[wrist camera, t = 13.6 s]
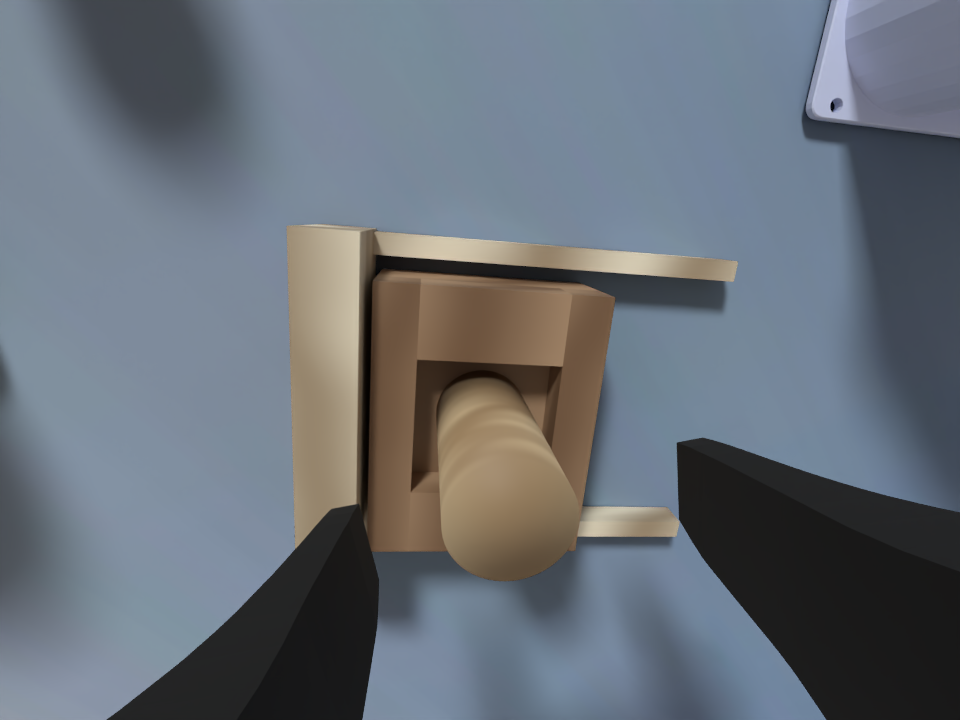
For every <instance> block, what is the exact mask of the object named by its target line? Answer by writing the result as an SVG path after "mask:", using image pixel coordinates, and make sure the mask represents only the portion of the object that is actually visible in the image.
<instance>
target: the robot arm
mask: <svg viewBox="0 0 960 720" xmlns="http://www.w3.org/2000/svg"><path fill="white" fill-rule="evenodd" d="M832 101H833V103H834V110H833V112H832V111H831V109H830V104H831V102H832ZM806 113H807V115H808V116H809V118H811V119H813V120H819V121H827V122H835V123H843V124H851V125H859V126H867V127H875V128H883V129H891V130H899V131H907V132H915V133H923V134H931V135H939V136H947V137H955V138H960V0H831V4H830V8H829V12H828V16H827V21H826V25H825V29H824V33H823V37H822V41H821V45H820V49H819V54H818V58H817V62H816V66H815V70H814V74H813V78H812V82H811V87H810V91H809V95H808V99H807V103H806ZM677 466H678V500H679V520H680V522H681V524H682V525H683V527H684V529H685V530H686V532H687V534H688V535H689V537H690V539H691V540H692V542H693V544H694V545H695V547H696V548H697V550H698V551H699V553H700V554H701V556H702V558H703V559H704V560H705V562H706V563H707V564H708V565H709V567H710V568H711V569H712V570H713V572H714V573H715V574H716V575H717V577H718V578H719V579H720V580H721V582H722V583H723V584H724V585H725V587H726V588H727V589H728V590H729V591H730V593H731V594H732V595H733V596H734V598H735V599H736V600H737V601H738V602H739V604H740V605H741V606H742V607H743V609H744V610H745V611H746V612H747V613H748V615H749V616H750V617H751V618H752V620H753V621H754V622H755V623H756V624H757V626H758V627H759V628H760V629H761V630H762V632H763V633H764V634H765V635H766V637H767V638H768V639H769V640H770V641H771V643H772V644H773V645H774V646H775V648H776V649H777V650H778V651H779V653H780V654H781V655H782V657H783V658H784V659H785V661H786V662H787V663H788V665H789V666H790V667H791V669H792V670H793V671H794V673H795V674H796V675H797V677H798V678H799V680H800V681H801V683H802V684H803V686H804V687H805V689H806V690H807V692H808V693H809V695H810V696H811V697H812V699H813V700H814V702H815V703H816V705H817V706H818V708H819V709H820V711H821V712H822V714H823V715H824V717H825V718H826V720H960V512H955V511H950V510H945V509H941V508H936V507H931V506H927V505H923V504H919V503H915V502H911V501H906V500H902V499H898V498H894V497H890V496H886V495H882V494H878V493H875V492H871V491H867V490H864V489H860V488H857V487H853V486H850V485H847V484H843V483H840V482H837V481H833V480H830V479H827V478H824V477H821V476H817V475H814V474H811V473H808V472H805V471H802V470H799V469H796V468H793V467H790V466H787V465H785V464H782V463H779V462H776V461H773V460H770V459H767V458H764V457H762V456H759V455H756V454H753V453H750V452H747V451H745V450H742V449H739V448H736V447H733V446H730V445H727V444H724V443H721V442H717V441H714V440H710V439H706V438H699V439H693V440H688V441H683V442H678V443H677ZM378 596H379V578H378V574H377V571H376V567H375V563H374V559H373V555H372V551H371V548H370V544H369V540H368V536H367V532H366V528H365V525H364V521H363V517H362V513H361V509H360V505H359V504H354V505H349V506H344V507H338V508H333V509H331V510H330V511H329V512H328V513H327V514H326V515H325V516H324V517H323V518H322V519H321V520H320V521H319V523H318V524H317V525H316V526H315V527H314V528H313V529H312V531H311V532H310V533H309V534H308V535H307V536H306V538H305V539H304V540H303V541H302V542H301V543H300V545H299V546H298V547H297V548H296V549H295V550H294V551H293V552H292V554H291V555H290V556H289V557H288V558H287V559H286V560H285V561H284V563H283V564H282V565H281V566H280V567H279V568H278V569H277V570H276V571H275V573H274V574H273V575H272V576H271V577H270V578H269V579H268V580H267V581H266V582H265V583H264V584H263V585H262V586H261V587H260V588H259V589H258V590H257V591H256V592H255V593H254V594H253V595H252V596H251V597H250V598H249V599H248V600H247V602H246V603H245V604H244V605H243V606H242V607H241V608H240V609H239V610H238V611H237V612H236V613H235V614H234V615H233V616H232V617H231V618H229V619H228V620H227V621H226V622H225V623H224V624H223V625H222V626H221V627H220V628H219V629H218V630H217V631H216V632H214V633H213V634H212V635H211V636H210V637H209V638H208V639H207V640H205V641H204V642H203V643H202V644H201V645H200V646H199V647H197V648H196V649H195V650H194V651H193V652H192V653H191V654H190V655H188V656H187V657H186V658H185V659H184V660H182V661H181V662H180V663H179V664H178V665H177V666H175V667H174V668H173V669H171V670H170V671H169V672H168V673H166V674H165V675H164V676H163V677H161V678H160V679H159V680H157V681H156V682H155V683H154V684H152V685H151V686H150V687H149V688H147V689H146V690H145V691H143V692H142V693H141V694H140V695H138V696H137V697H136V698H135V699H133V700H132V701H131V702H129V703H128V704H127V705H126V706H124V707H123V708H122V709H121V710H119V711H118V712H116V713H115V714H114V715H112V716H111V717H110V718H108V719H107V720H362V718H363V712H364V706H365V700H366V693H367V687H368V681H369V675H370V669H371V663H372V657H373V650H374V644H375V638H376V631H377V620H378Z"/></svg>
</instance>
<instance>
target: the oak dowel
mask: <svg viewBox="0 0 960 720" xmlns="http://www.w3.org/2000/svg"><path fill="white" fill-rule="evenodd" d="M436 424H437V445H438V466H439V488H440V509H441V530H442V537H443V540H444V544H445V546H446V548H447V550H448V552H449V554H450V555H451V557H452V558H453V559H454V560H455V561H456V562H457V563H458V565H460V566H461V567H462V568H463V569H465V570H466V571H468V572H470V573H471V574H474V575H476V576H478V577H481V578H484V579H488V580H494V581H514V580H520V579H524V578H528V577H531V576H534V575H536V574H538V573H540V572H542V571H544V570H546V569H547V568H549V567H550V566H552V565H553V564H554V563H556V562H557V561H558V560H559V559H560V558H561V557H562V556H563V555H564V554H565V553H566V551H567V550H568V548H569V547H570V546H571V544H572V542H573V540H574V538H575V535H576V533H577V530H578V525H579V517H580V514H579V505H578V500H577V498H576V495H575V493H574V491H573V489H572V487H571V485H570V483H569V481H568V480H567V478H566V476H565V474H564V472H563V470H562V469H561V467H560V465H559V463H558V461H557V459H556V457H555V456H554V454H553V452H552V450H551V448H550V446H549V445H548V443H547V441H546V439H545V437H544V435H543V434H542V432H541V430H540V428H539V426H538V424H537V422H536V421H535V419H534V417H533V415H532V413H531V411H530V410H529V408H528V406H527V404H526V402H525V400H524V398H523V397H522V395H521V393H520V391H519V389H518V388H517V387H516V385H515V384H514V383H513V382H512V381H511V380H509V379H508V378H507V377H505V376H503V375H502V374H499V373H496V372H493V371H486V370H478V371H472V372H468V373H465V374H463V375H461V376H459V377H457V378H455V379H454V380H453V381H451V382H450V383H449V384H448V385H447V386H446V388H445V389H444V390H443V392H442V393H441V395H440V398H439V400H438V403H437V408H436Z"/></svg>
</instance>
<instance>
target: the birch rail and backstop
mask: <svg viewBox="0 0 960 720" xmlns="http://www.w3.org/2000/svg"><path fill="white" fill-rule="evenodd" d="M287 254H288V291H289V329H290V367H291V404H292V442H293V480H294V517H295V549H296V548H297V547H298V546H299V545H300V543H301V542H302V541H303V540H304V539H305V538H306V536H307V535H308V534H309V533H310V532H311V531H312V529H313V528H314V527H315V526H316V525H317V524H318V523H319V521H320V520H321V519H322V518H323V517H324V516H325V515H326V514H327V513H328V512H329V511H330V510H331V509H333V508H338V507H344V506H349V505H354V504H359V505H360V509H361V513H362V517H363V521H364V525H365V528H366V532H367V521H368V474H369V427H370V380H371V333H372V286H373V280H374V279H375V278H376V255H385V256H399V257H412V258H425V259H439V260H452V261H465V262H478V263H492V264H505V265H518V266H532V267H545V268H558V269H571V270H585V271H598V272H611V273H624V274H638V275H651V276H664V277H678V278H691V279H704V280H717V281H731V282H734V278H735V274H736V269H737V265H738V262H737V261H730V260H722V259H712V258H699V257H687V256H675V255H662V254H650V253H638V252H626V251H613V250H601V249H589V248H577V247H564V246H552V245H540V244H528V243H515V242H503V241H491V240H478V239H466V238H454V237H442V236H429V235H417V234H405V233H393V232H380V231H377V228H364V227H352V226H340V225H328V224H315V225H294V226H287ZM678 526H679V521H678V520H677V518H676V517H675V516H674V515H673V514H672V513H671V511H670V510H669V509H668V508H667V507H586V506H582V510H581V517H580V523H579V529H578V535H577V537H676V535H677V531H678Z"/></svg>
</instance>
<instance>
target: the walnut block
mask: <svg viewBox="0 0 960 720" xmlns="http://www.w3.org/2000/svg"><path fill="white" fill-rule="evenodd" d="M614 304H615V297H613V296H610V295H608V294H606V293H603V292H601V291H598V290H596V289H593V288H591V287H589V286H586V285H584V284H581V283H578V282H564V281H550V280H536V279H523V278H509V277H495V276H481V275H467V274H453V273H439V272H425V271H411V270H397V269H382V270H381V272H380V273H379V274H378V275H377V276H376V278H375V279H374V280H373V286H372V333H371V380H370V427H369V474H368V521H367V536H368V540H369V544H370V548H371V551H372V552H394V551H448V550H447V548H446V546H445V544H444V540H443V537H442V530H441V509H440V488H439V466H438V445H437V424H436V408H437V403H438V400H439V398H440V395H441V393H442V392H443V390H444V389H445V388H446V386H447V385H448V384H449V383H450V382H451V381H453V380H454V379H455V378H457V377H459V376H461V375H463V374H465V373H468V372H472V371H478V370H486V371H493V372H496V373H499V374H502V375H503V376H505V377H507V378H508V379H509V380H511V381H512V382H513V383H514V384H515V385H516V387H517V388H518V389H519V391H520V393H521V395H522V397H523V398H524V400H525V402H526V404H527V406H528V408H529V410H530V411H531V413H532V415H533V417H534V419H535V421H536V422H537V424H538V426H539V428H540V430H541V432H542V434H543V435H544V437H545V439H546V441H547V443H548V445H549V446H550V448H551V450H552V452H553V454H554V456H555V457H556V459H557V461H558V463H559V465H560V467H561V469H562V470H563V472H564V474H565V476H566V478H567V480H568V481H569V483H570V485H571V487H572V489H573V491H574V493H575V495H576V498H577V500H578V505H579V514H580V517H581V510H582V504H583V498H584V492H585V485H586V479H587V473H588V467H589V460H590V454H591V448H592V442H593V435H594V429H595V423H596V417H597V410H598V404H599V398H600V392H601V386H602V379H603V373H604V367H605V361H606V354H607V348H608V342H609V336H610V329H611V323H612V317H613V311H614ZM580 517H579V523H580ZM578 529H579V525H578ZM577 535H578V530H577V533H576V535H575V538H574V540H573V542H572V544H571V546H570V547H569V548H568V550H567V551H575V548H576V542H577Z"/></svg>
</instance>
